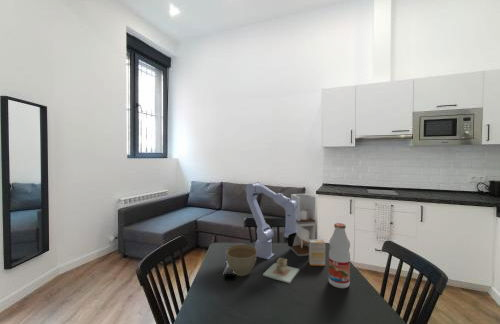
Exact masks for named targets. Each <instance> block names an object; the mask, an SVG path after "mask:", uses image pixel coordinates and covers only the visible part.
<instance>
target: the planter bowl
mask: <svg viewBox="0 0 500 324" xmlns="http://www.w3.org/2000/svg"><path fill="white" fill-rule="evenodd" d="M256 256H257V250H256V249H255V246H251V245H248V244H236V245H232V246H229V247H228V248H227V249H226V250H225V257H226V262H227V264H228V267H229V268H230V270H231V269H232V270H233V271H234V272H235V273H236V274H237V275H236V276H239V277H243V276H247V275H249V274H250V273H251V271H252V269H253V268H254V266H255V264H256V262H257V261H256V260H257V257H256ZM232 270H231V271H232Z"/></svg>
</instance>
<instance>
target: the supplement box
mask: <svg viewBox="0 0 500 324" xmlns="http://www.w3.org/2000/svg"><path fill="white" fill-rule="evenodd" d="M308 262H309V266H315V267H317V266H319V267H325V266H326V241H325V240H324V239H320V238H319V239H309V255H308Z"/></svg>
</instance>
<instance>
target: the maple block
mask: <svg viewBox="0 0 500 324" xmlns="http://www.w3.org/2000/svg"><path fill="white" fill-rule="evenodd" d="M276 263H277V272H278V273H282V274H285V272H286V271H287V266H288V259H287V258H283V257H279V258H278V259H276Z"/></svg>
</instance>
